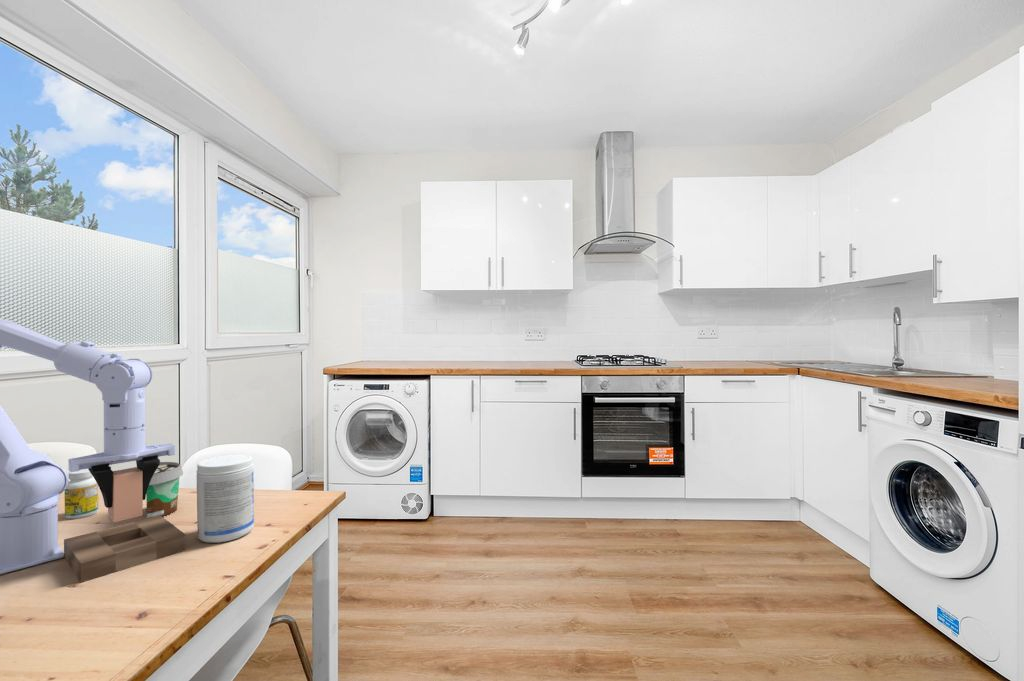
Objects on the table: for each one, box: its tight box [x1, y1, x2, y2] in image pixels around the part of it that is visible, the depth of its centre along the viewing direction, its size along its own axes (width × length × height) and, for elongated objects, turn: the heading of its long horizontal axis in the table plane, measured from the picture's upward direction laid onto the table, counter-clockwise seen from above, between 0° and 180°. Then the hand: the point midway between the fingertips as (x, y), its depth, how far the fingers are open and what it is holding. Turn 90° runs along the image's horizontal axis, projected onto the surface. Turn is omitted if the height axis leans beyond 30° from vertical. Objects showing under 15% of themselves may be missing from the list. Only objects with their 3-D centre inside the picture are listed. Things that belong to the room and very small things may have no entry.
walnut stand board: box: [63, 515, 186, 583], centre depth 82 cm, size 14×14×3 cm
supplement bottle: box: [63, 469, 99, 520], centre depth 100 cm, size 5×5×10 cm
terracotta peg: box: [107, 466, 144, 523], centre depth 82 cm, size 4×4×8 cm
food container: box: [145, 461, 184, 519], centre depth 102 cm, size 12×6×10 cm, turn 34°
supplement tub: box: [196, 454, 255, 544], centre depth 91 cm, size 10×10×15 cm
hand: (125, 502), depth 82 cm, fingers closed on terracotta peg, 4 cm apart
